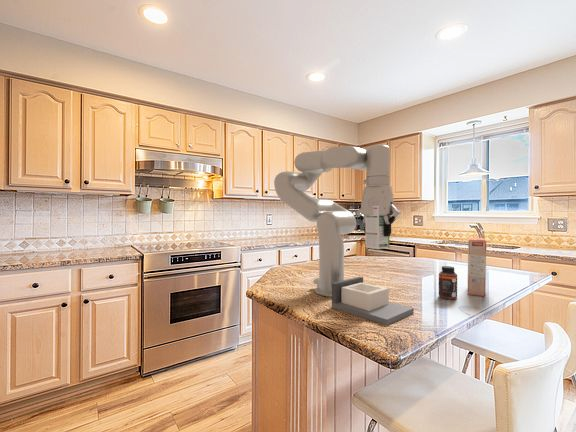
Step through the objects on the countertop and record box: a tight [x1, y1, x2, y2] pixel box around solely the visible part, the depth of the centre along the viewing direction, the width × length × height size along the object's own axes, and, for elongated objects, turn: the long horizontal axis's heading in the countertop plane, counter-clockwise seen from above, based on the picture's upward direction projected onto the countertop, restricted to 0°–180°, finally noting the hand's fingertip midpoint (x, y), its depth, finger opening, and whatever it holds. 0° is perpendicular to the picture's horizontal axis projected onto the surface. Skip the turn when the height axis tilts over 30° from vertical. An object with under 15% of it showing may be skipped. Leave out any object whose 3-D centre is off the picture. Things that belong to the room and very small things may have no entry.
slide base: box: [331, 276, 415, 326], centre depth 94 cm, size 20×15×8 cm
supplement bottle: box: [438, 265, 458, 301], centre depth 108 cm, size 6×6×11 cm
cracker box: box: [467, 237, 487, 297], centre depth 116 cm, size 14×6×21 cm, turn 148°
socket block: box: [341, 282, 390, 311], centre depth 96 cm, size 11×11×5 cm
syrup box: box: [364, 205, 390, 250], centre depth 101 cm, size 6×6×14 cm
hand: (377, 234), depth 101 cm, fingers closed on syrup box, 6 cm apart
